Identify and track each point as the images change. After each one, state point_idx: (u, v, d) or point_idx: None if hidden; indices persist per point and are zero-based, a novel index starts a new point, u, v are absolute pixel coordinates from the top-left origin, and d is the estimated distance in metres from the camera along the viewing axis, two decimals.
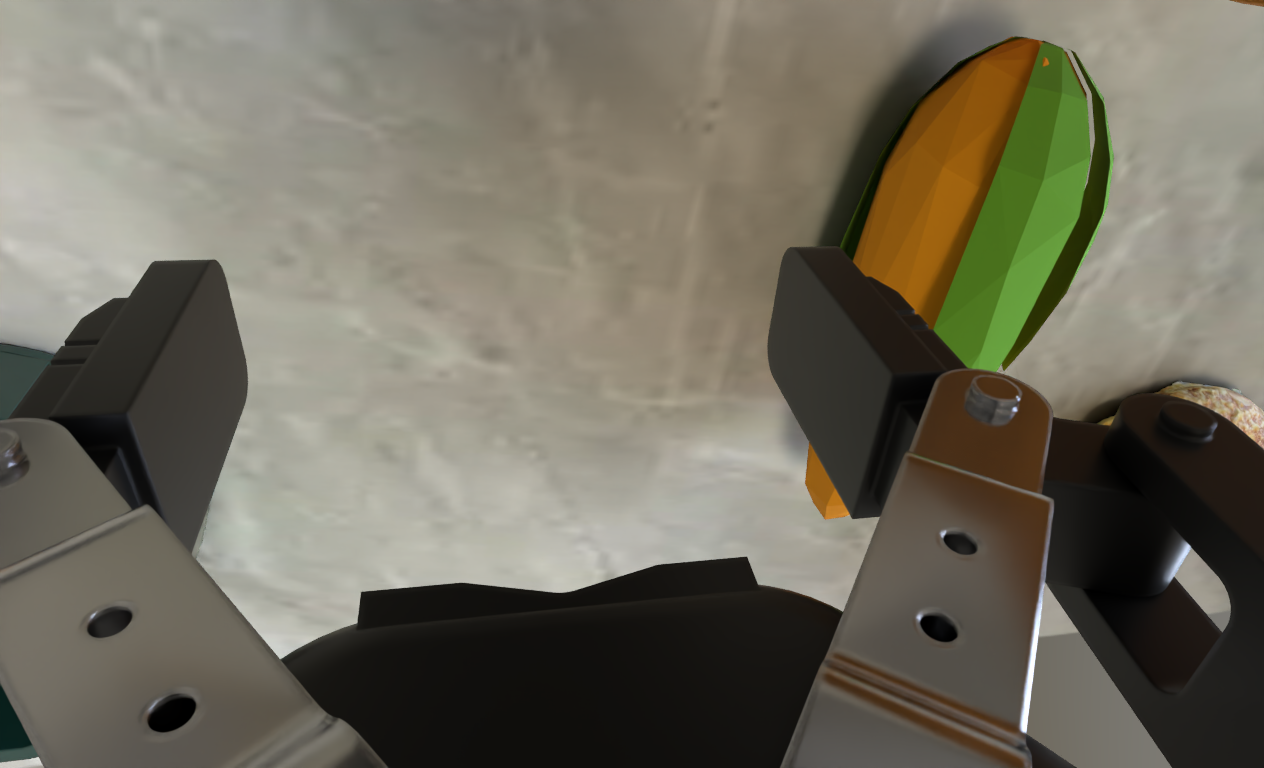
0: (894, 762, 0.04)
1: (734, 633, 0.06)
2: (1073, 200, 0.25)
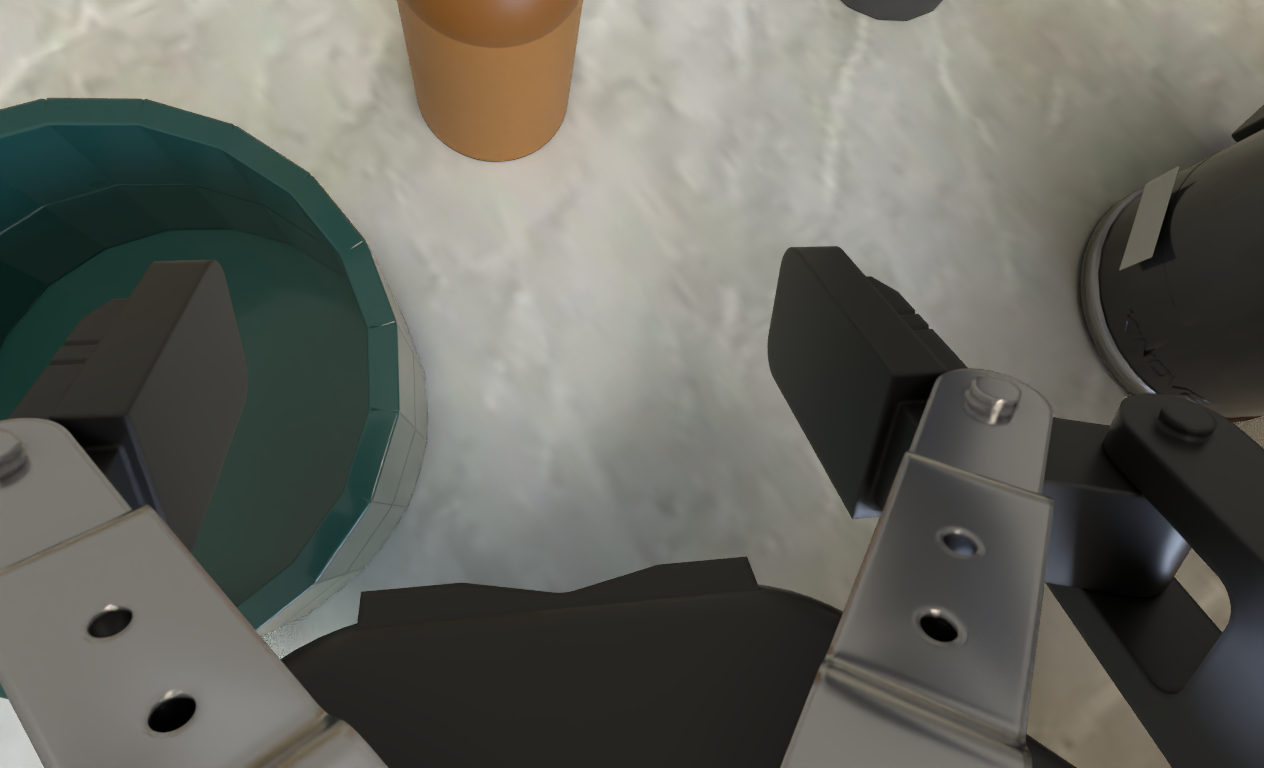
0: (894, 763, 0.04)
1: (734, 633, 0.06)
2: None
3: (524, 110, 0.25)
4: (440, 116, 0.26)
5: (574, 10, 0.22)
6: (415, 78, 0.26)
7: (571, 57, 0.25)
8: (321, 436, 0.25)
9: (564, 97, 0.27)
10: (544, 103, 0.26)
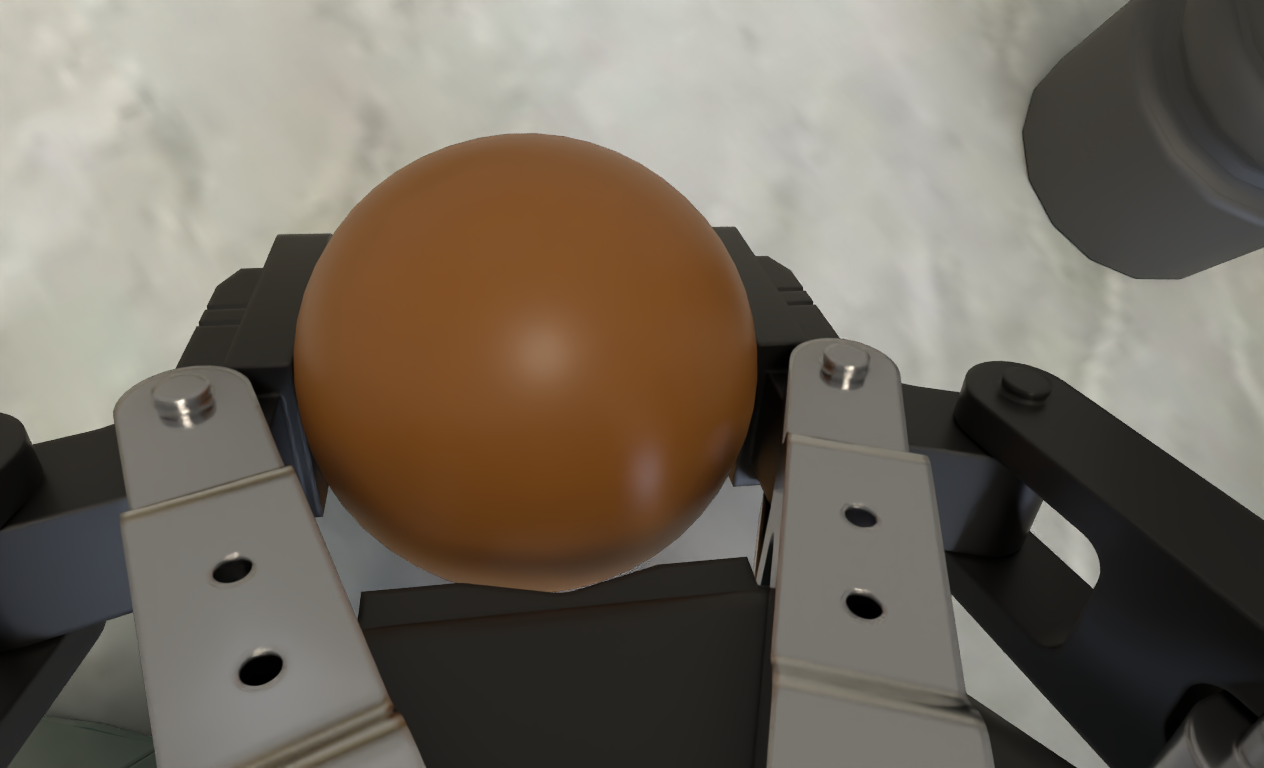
0: (867, 756, 0.04)
1: (734, 633, 0.06)
2: None
3: None
4: None
5: None
6: None
7: None
8: None
9: None
10: None
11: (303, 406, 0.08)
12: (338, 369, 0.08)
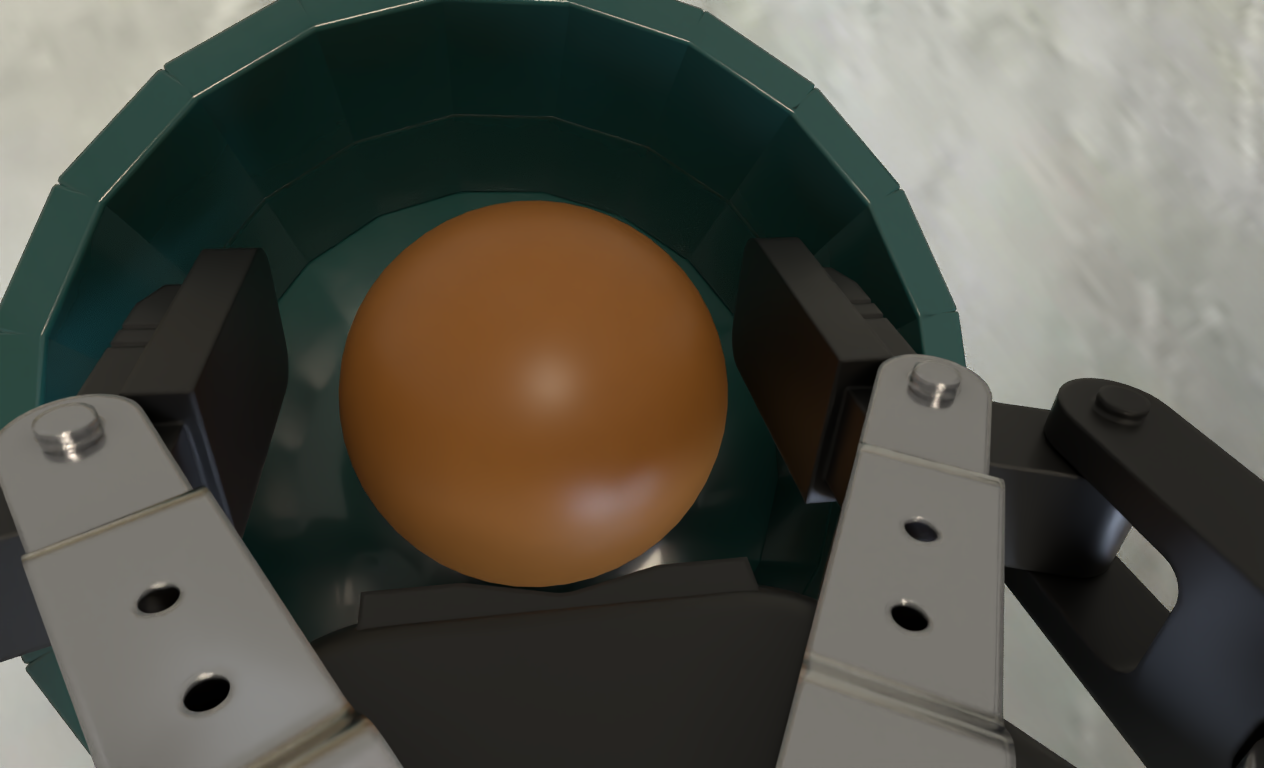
0: (883, 759, 0.04)
1: (734, 633, 0.06)
2: None
3: None
4: None
5: None
6: None
7: None
8: None
9: None
10: None
11: (348, 430, 0.10)
12: (380, 402, 0.09)
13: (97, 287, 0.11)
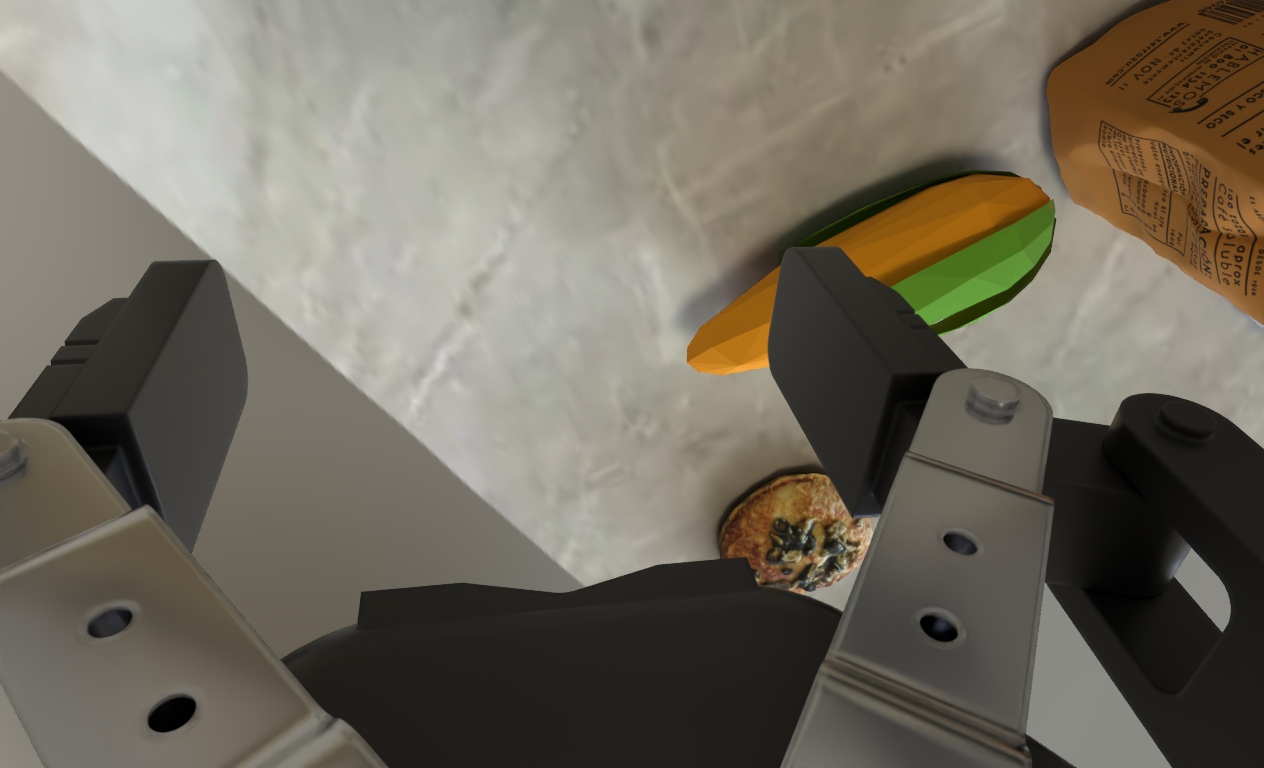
0: (894, 763, 0.04)
1: (734, 633, 0.06)
2: (1015, 277, 0.40)
3: None
4: None
5: None
6: None
7: None
8: None
9: None
10: None
11: None
12: None
13: None
